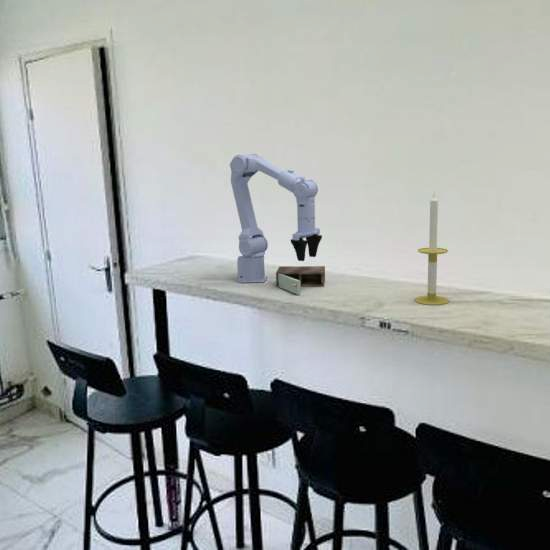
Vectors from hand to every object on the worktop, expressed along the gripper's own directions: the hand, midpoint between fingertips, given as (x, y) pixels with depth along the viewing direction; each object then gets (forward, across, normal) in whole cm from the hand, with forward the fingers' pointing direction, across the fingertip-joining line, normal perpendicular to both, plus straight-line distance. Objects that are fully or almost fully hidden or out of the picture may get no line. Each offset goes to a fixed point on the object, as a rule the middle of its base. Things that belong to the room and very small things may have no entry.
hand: (306, 258), depth 200 cm
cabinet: (+10, +4, +5) cm, 11 cm away
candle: (+10, +1, -42) cm, 43 cm away
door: (+9, -8, +3) cm, 13 cm away
